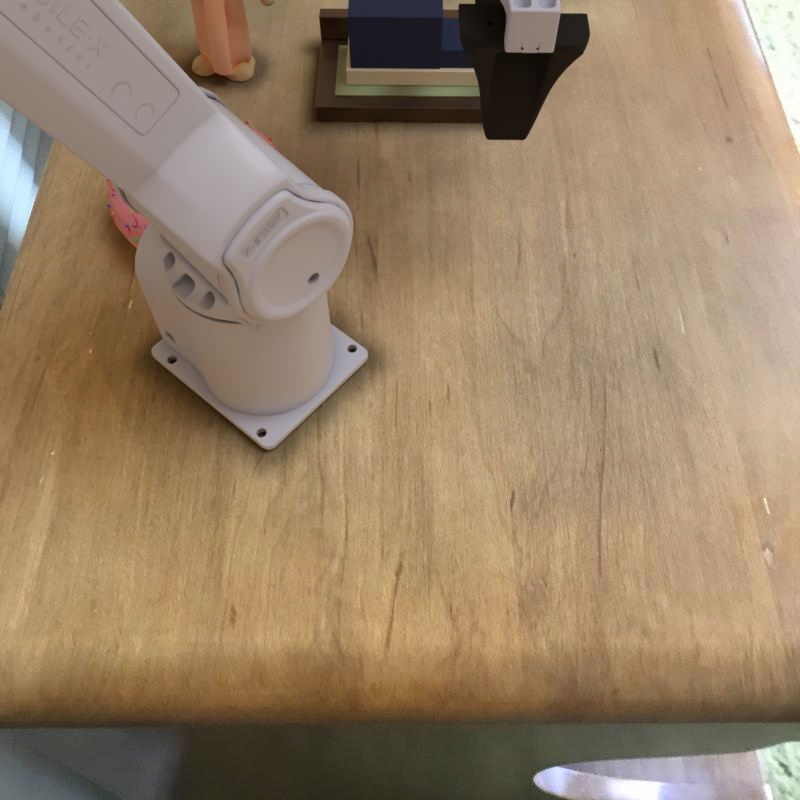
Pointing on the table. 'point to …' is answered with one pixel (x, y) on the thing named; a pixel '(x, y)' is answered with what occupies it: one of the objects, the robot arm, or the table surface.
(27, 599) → the table surface
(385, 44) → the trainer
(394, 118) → the brown tray with backboard
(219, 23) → the grandmother figurine
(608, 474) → the table surface
